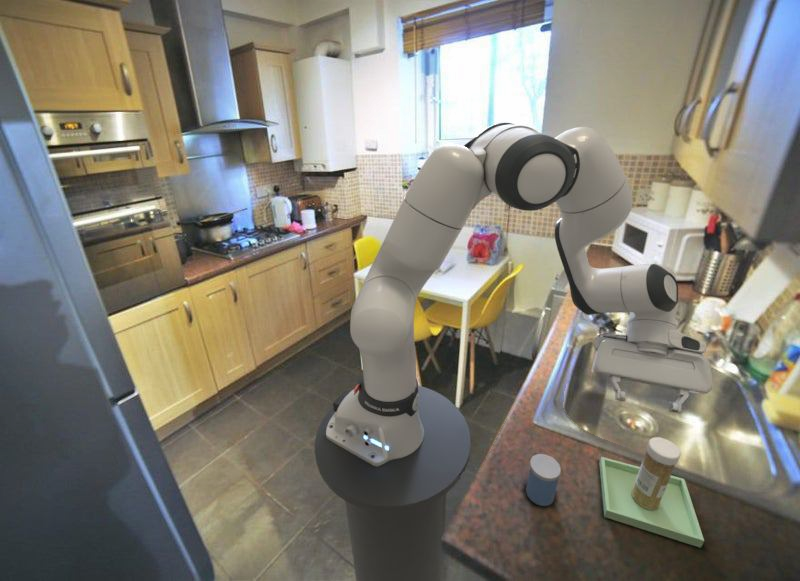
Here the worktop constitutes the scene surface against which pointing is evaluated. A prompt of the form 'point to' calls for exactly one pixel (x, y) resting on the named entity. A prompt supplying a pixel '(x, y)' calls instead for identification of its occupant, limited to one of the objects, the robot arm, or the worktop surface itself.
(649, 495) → the sprinkles bottle
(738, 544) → the worktop surface
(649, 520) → the sage tray
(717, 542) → the worktop surface
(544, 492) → the blue tin
